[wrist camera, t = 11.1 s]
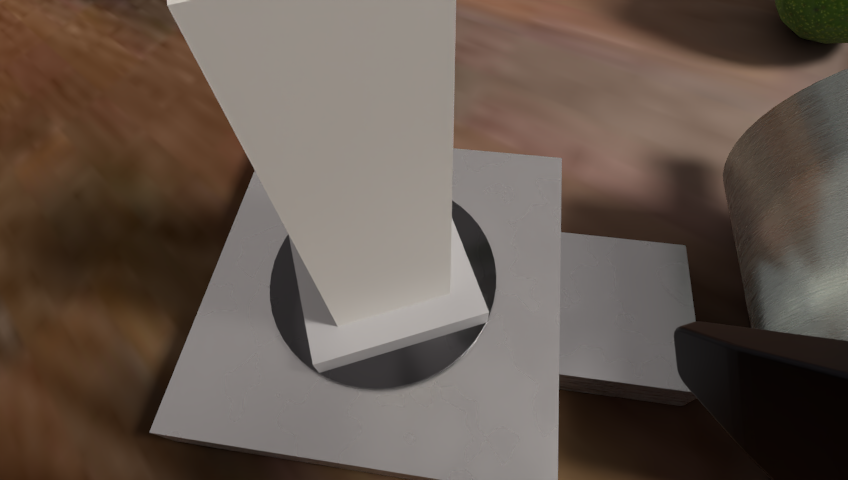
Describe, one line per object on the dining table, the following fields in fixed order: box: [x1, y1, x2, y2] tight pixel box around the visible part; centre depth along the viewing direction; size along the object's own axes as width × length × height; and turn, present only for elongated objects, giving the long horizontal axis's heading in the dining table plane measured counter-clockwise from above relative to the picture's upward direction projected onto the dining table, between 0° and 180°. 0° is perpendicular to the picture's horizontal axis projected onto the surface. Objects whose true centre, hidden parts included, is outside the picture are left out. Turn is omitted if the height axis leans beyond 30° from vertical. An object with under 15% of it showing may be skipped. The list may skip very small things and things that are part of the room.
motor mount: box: [149, 69, 848, 480], centre depth 17 cm, size 16×30×10 cm, turn 82°
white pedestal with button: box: [167, 0, 489, 373], centre depth 13 cm, size 6×6×14 cm
